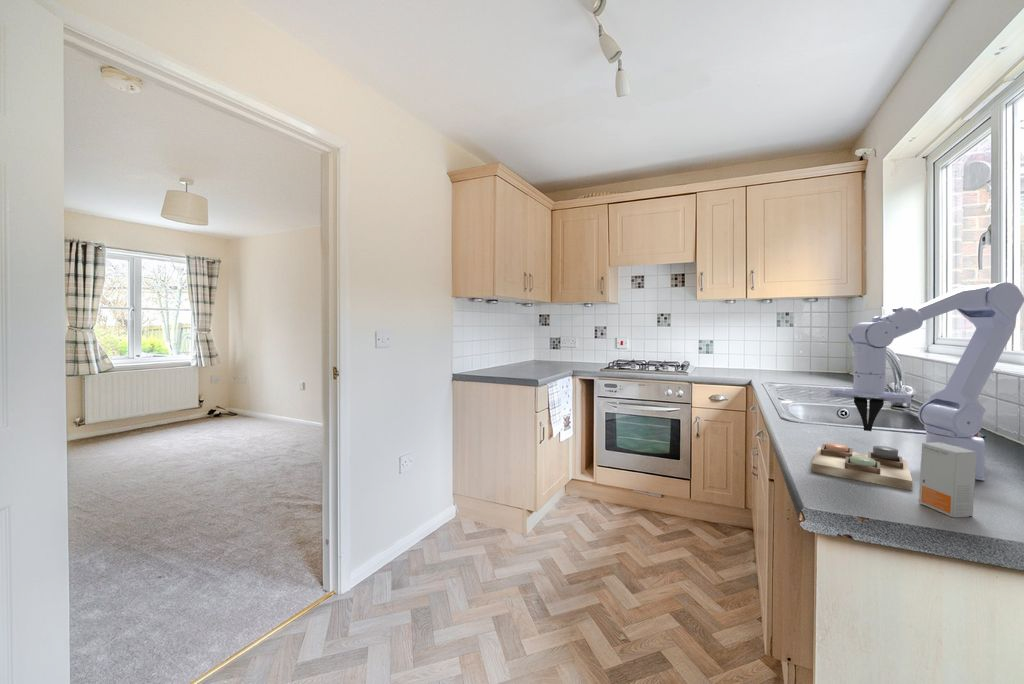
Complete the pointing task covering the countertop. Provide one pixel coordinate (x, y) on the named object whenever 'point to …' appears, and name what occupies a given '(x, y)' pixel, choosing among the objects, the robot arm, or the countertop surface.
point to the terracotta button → (837, 447)
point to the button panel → (863, 468)
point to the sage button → (862, 461)
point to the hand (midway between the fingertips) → (867, 430)
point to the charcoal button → (885, 452)
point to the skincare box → (947, 479)
